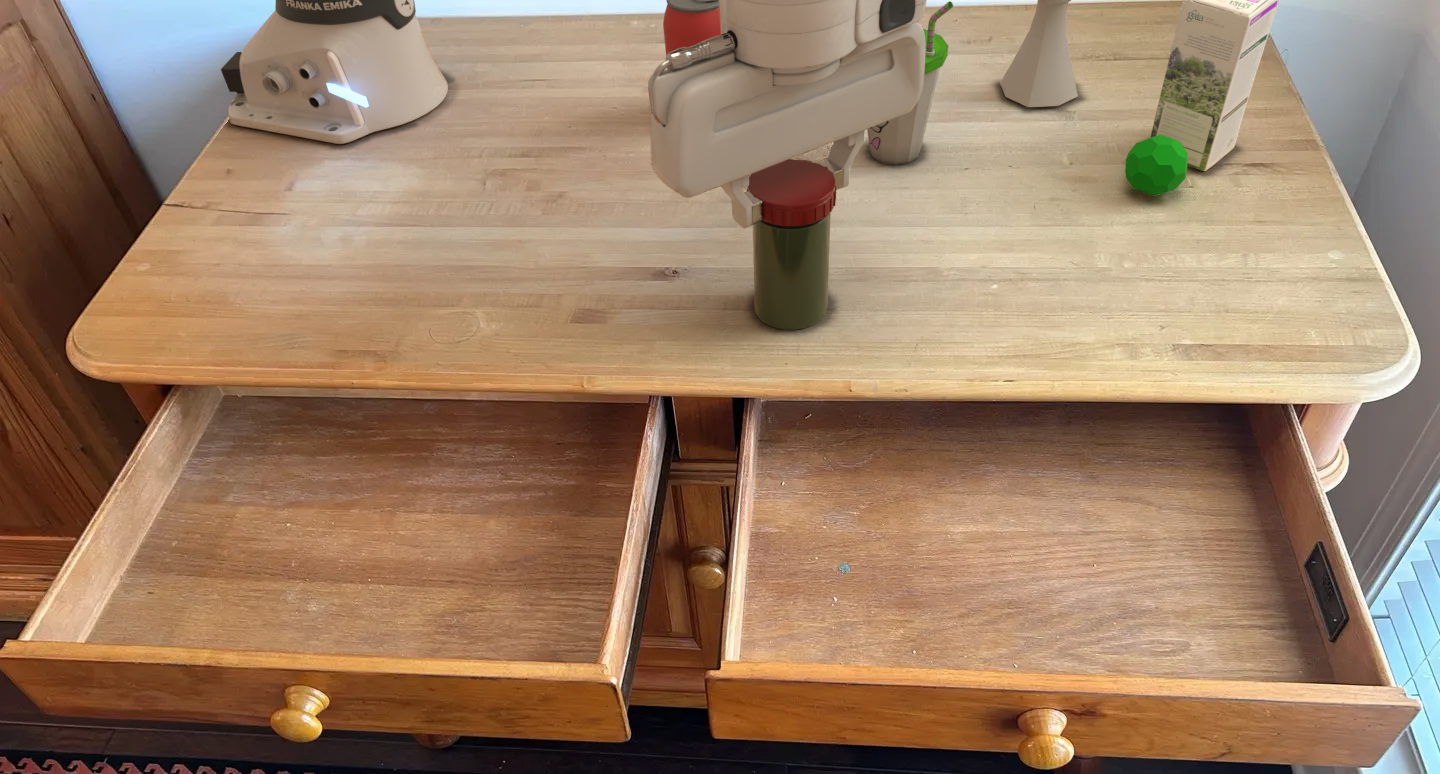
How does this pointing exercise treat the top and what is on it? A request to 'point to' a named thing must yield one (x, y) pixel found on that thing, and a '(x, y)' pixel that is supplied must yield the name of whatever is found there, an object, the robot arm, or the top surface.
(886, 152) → the cup
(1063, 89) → the flask
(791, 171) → the lid
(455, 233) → the top surface
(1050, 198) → the top surface
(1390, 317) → the top surface
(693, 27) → the beer can
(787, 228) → the jar
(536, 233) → the top surface
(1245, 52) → the syrup box
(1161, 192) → the polyhedron
